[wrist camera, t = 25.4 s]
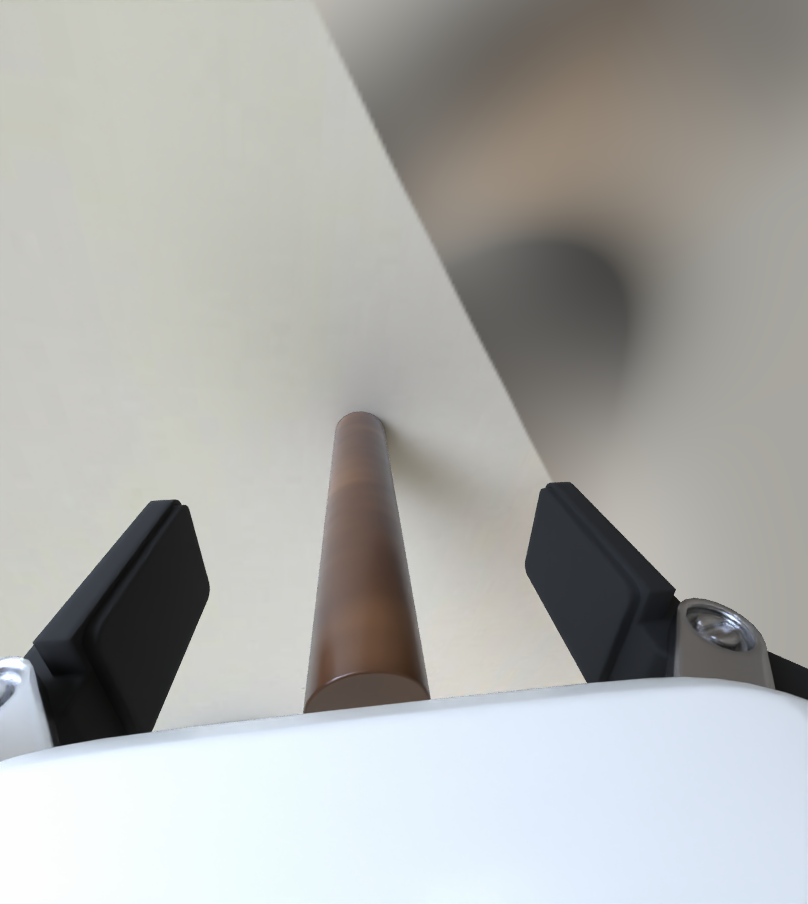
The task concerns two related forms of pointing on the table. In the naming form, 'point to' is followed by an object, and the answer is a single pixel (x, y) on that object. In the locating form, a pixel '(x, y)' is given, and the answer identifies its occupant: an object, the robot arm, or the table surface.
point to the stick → (363, 584)
